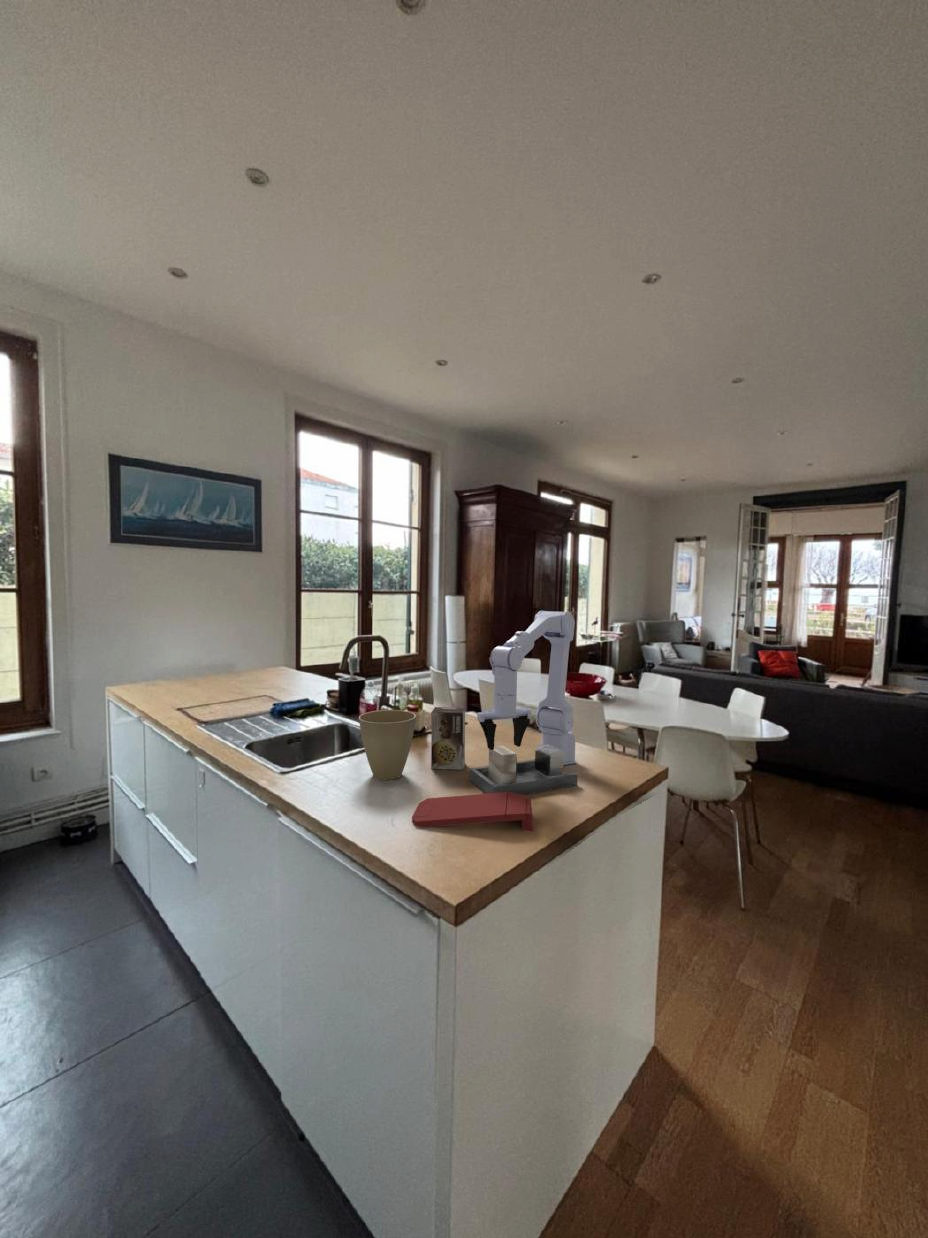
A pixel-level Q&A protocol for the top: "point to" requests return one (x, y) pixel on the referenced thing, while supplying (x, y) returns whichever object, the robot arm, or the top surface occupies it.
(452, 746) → the food box
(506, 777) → the finger block
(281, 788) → the top surface
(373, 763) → the plant pot
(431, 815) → the red bent plate
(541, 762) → the tray
